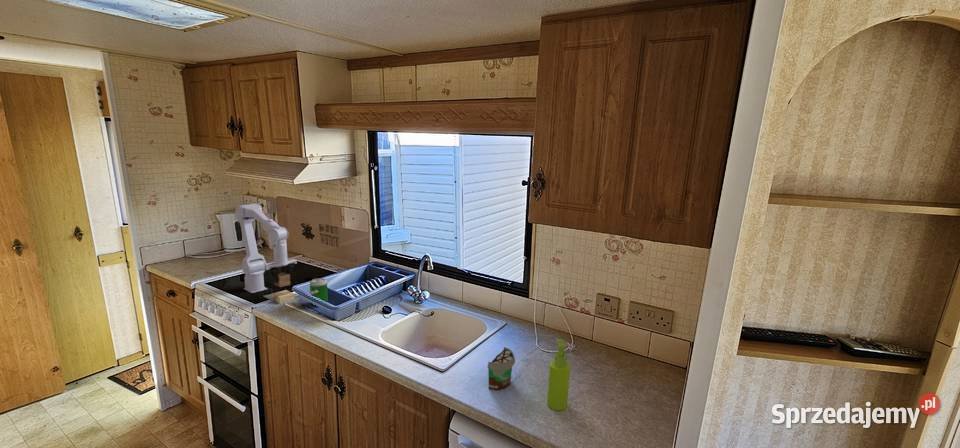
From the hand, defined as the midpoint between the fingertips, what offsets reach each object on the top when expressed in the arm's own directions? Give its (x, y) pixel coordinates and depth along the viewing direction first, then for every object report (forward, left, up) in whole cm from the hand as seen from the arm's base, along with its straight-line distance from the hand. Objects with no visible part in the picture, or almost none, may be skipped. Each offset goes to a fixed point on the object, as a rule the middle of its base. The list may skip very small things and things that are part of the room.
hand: (282, 281), depth 192 cm
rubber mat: (-3, +1, -10) cm, 10 cm away
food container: (+121, +9, -10) cm, 121 cm away
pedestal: (+1, -1, -9) cm, 9 cm away
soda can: (+18, +8, -10) cm, 22 cm away
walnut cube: (0, 0, -2) cm, 2 cm away
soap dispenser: (+139, +11, -10) cm, 139 cm away
